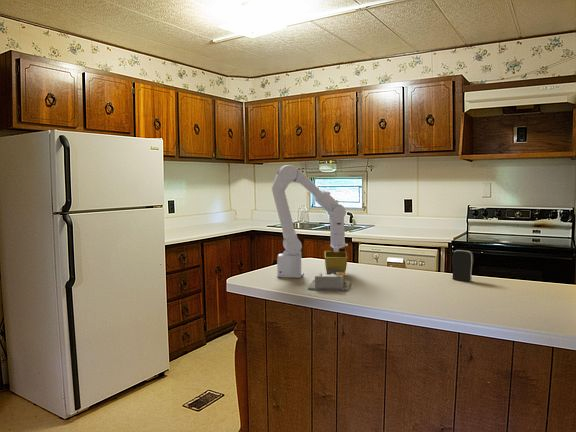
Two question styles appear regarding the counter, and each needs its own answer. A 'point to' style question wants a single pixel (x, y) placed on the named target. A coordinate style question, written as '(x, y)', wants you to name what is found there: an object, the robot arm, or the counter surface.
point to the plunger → (333, 273)
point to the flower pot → (336, 260)
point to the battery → (462, 265)
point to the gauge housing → (329, 283)
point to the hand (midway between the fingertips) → (338, 266)
